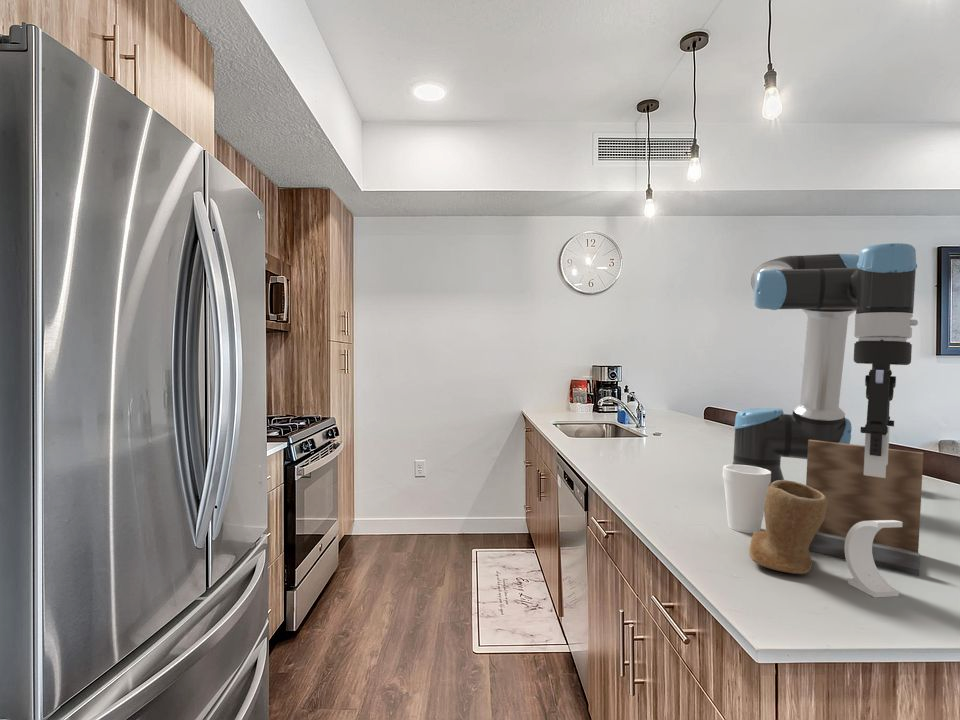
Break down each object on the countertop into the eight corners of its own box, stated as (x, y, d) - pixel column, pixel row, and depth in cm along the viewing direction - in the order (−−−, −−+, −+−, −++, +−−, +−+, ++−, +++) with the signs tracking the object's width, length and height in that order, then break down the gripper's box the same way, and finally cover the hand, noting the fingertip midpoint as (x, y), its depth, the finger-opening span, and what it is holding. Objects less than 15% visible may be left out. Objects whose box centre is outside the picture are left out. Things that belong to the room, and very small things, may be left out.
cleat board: (795, 547, 105) (799, 447, 105) (805, 530, 116) (809, 439, 115) (919, 575, 93) (925, 462, 93) (917, 553, 104) (923, 452, 103)
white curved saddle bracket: (874, 597, 84) (877, 522, 84) (842, 580, 90) (845, 511, 90) (899, 596, 85) (902, 522, 85) (866, 579, 91) (869, 510, 91)
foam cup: (764, 524, 119) (767, 467, 119) (772, 538, 110) (775, 476, 110) (718, 519, 122) (720, 462, 122) (722, 531, 113) (725, 471, 113)
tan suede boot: (824, 587, 88) (829, 497, 87) (745, 569, 94) (748, 485, 94) (822, 557, 101) (826, 479, 100) (752, 543, 107) (755, 469, 106)
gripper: (913, 337, 75) (905, 487, 75) (911, 343, 94) (905, 462, 94) (848, 337, 79) (841, 478, 80) (859, 342, 99) (854, 455, 99)
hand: (876, 469), depth 87 cm, fingers open, 13 cm apart
